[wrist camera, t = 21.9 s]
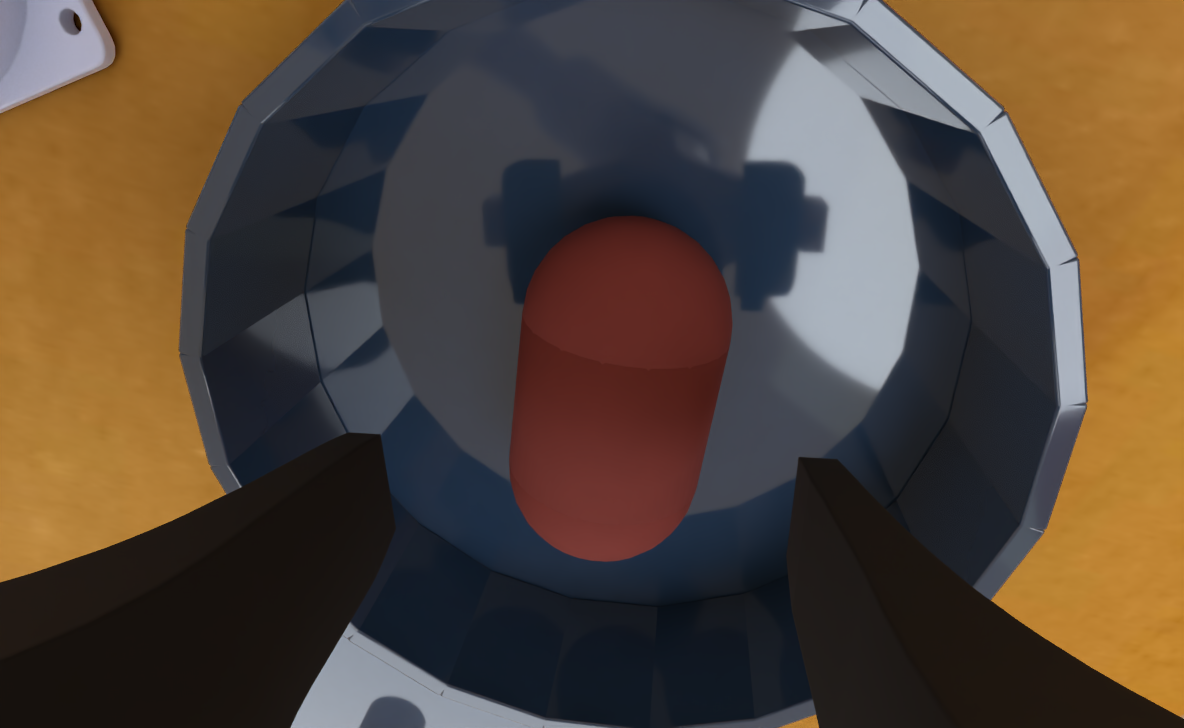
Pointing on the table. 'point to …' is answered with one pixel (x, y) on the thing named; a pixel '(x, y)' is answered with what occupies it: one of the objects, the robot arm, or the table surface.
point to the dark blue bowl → (758, 304)
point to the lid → (381, 698)
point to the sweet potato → (616, 385)
